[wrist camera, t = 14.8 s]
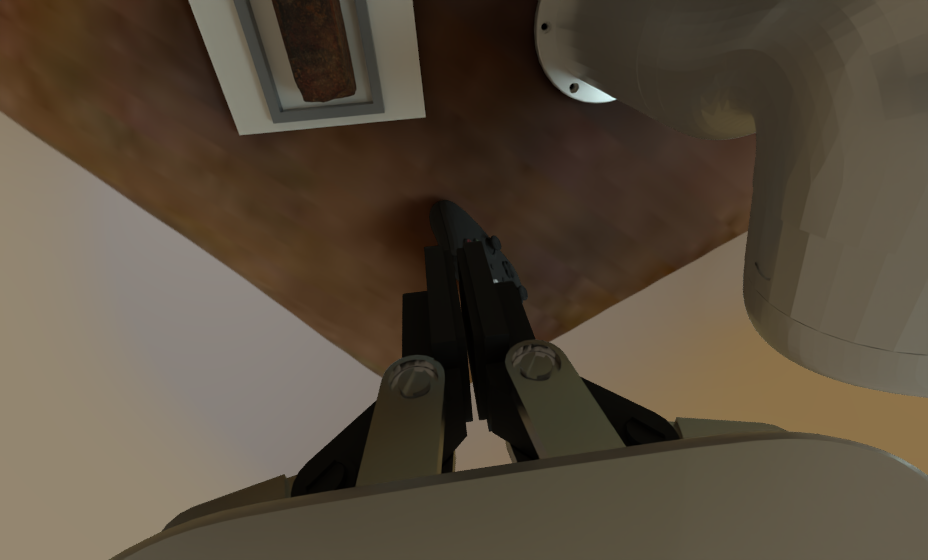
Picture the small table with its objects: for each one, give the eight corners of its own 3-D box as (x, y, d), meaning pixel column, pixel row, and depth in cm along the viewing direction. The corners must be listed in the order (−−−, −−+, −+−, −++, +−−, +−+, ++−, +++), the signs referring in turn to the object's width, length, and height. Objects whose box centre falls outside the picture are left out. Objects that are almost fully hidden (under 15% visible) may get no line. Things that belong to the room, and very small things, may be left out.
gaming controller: (530, 267, 48) (556, 323, 40) (489, 294, 50) (505, 353, 42) (459, 178, 41) (473, 224, 33) (413, 213, 43) (415, 265, 34)
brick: (265, -76, 28) (243, -85, 24) (324, -81, 28) (312, -90, 24) (310, 93, 34) (298, 107, 30) (359, 88, 34) (353, 101, 30)
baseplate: (396, -135, 28) (396, -144, 26) (425, 113, 37) (426, 120, 35) (150, -120, 27) (132, -128, 25) (244, 131, 36) (235, 138, 34)
